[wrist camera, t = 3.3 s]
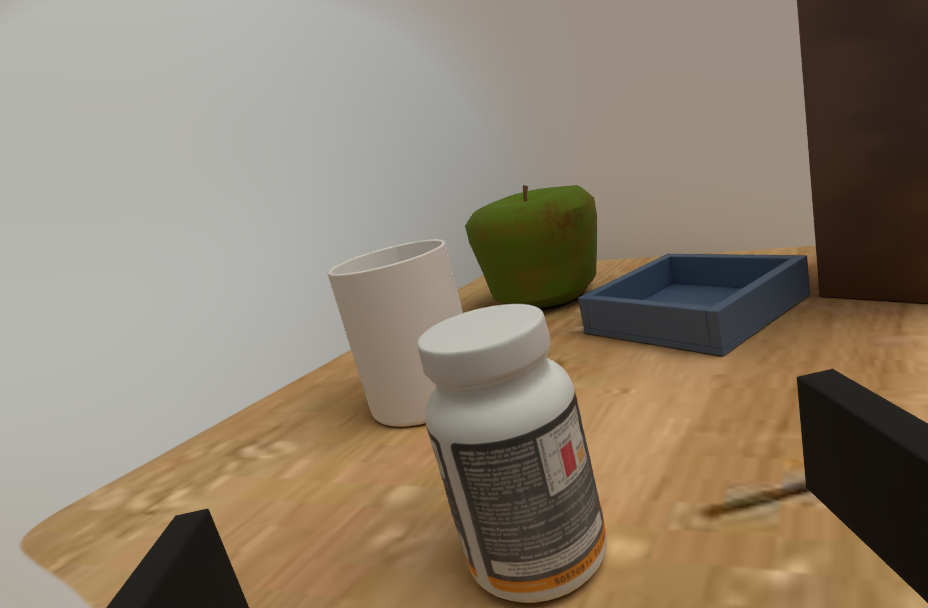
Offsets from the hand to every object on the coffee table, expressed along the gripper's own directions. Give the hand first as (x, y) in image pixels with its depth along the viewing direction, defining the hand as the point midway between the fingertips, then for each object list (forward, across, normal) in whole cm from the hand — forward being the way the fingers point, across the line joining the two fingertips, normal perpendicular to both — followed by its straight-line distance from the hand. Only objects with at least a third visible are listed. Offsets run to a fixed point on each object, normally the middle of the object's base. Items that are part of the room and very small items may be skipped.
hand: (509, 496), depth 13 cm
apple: (+43, +6, -9) cm, 45 cm away
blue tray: (+30, +16, -8) cm, 35 cm away
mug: (+28, -5, -9) cm, 30 cm away
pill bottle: (+8, 0, -9) cm, 12 cm away
